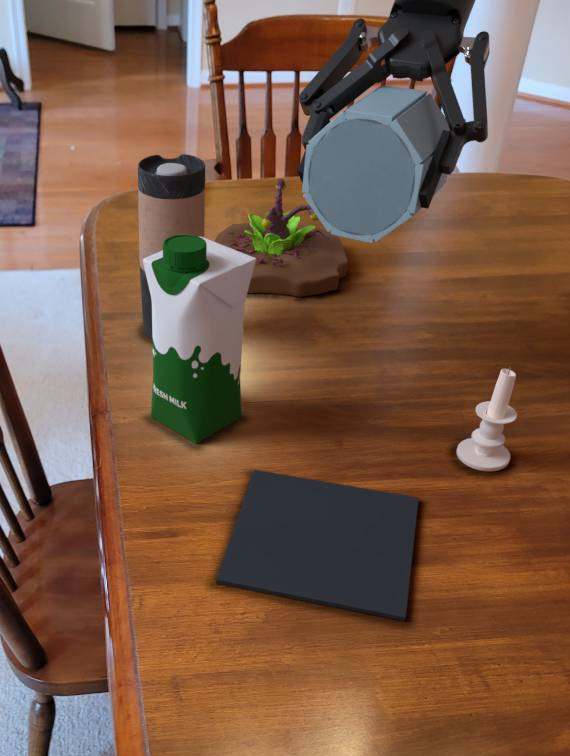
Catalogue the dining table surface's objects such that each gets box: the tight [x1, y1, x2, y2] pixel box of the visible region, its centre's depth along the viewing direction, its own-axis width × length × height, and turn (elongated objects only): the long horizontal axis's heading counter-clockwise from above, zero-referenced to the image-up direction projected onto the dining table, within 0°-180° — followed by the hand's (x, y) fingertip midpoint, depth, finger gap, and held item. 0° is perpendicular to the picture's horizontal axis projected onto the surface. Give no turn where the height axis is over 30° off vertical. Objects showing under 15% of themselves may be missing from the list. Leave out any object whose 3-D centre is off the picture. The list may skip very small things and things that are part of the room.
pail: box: [301, 84, 450, 244], centre depth 85 cm, size 10×12×12 cm
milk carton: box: [143, 235, 256, 444], centre depth 84 cm, size 9×9×20 cm
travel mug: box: [137, 153, 206, 340], centre depth 98 cm, size 8×8×20 cm
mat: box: [215, 469, 420, 622], centre depth 76 cm, size 16×16×1 cm
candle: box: [455, 366, 518, 472], centre depth 81 cm, size 5×5×10 cm
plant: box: [214, 178, 349, 298], centre depth 115 cm, size 20×20×11 cm
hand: (361, 190), depth 84 cm, fingers closed on pail, 12 cm apart
